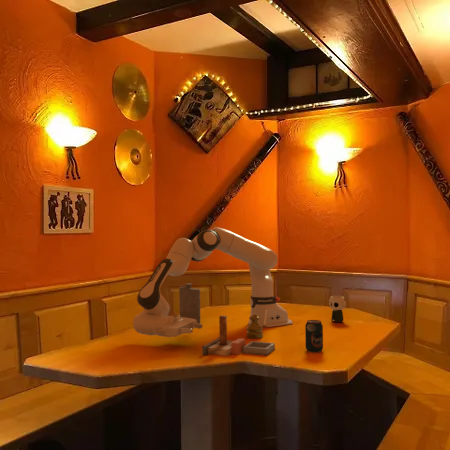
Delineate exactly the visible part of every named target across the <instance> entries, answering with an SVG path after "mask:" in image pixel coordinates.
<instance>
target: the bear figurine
mask: <svg viewBox="0 0 450 450" xmlns="http://www.w3.org/2000/svg"><path fill="white" fill-rule="evenodd" d="M328 305H329V307H330V309H331V310H332V311H331V322H334V323H341V322H344V314H343V313H344V312H343V310H344V309H345V308H346V307H347V301H345V296H342V295H331V296H330V297H329V299H328Z"/></svg>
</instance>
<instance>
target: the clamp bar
mask: <svg viewBox="0 0 450 450" xmlns="http://www.w3.org/2000/svg"><path fill="white" fill-rule="evenodd" d="M218 342H220V336H219V337H217V338H214V339H212V340H210V341H209V342H207V343H205V344H203V345H202V346H201V347H202V349H201V350H202V356H207V355H209V354H208V348H209V347H211V346H212V345H214V344H216V343H218Z"/></svg>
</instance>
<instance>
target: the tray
mask: <svg viewBox="0 0 450 450" xmlns="http://www.w3.org/2000/svg"><path fill="white" fill-rule="evenodd" d="M275 344H276V343H274V342H266V341H265V342H264V341H253V340H252V341H250V342H248V343H247V344H245V346H244V347H243V352H242V353H243V354H249V355H250V354H251V355H257V356H258V355H259V356H269V355H270V354H271V353H272V352H273V351H274V350H275V349H276V345H275Z"/></svg>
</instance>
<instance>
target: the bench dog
mask: <svg viewBox="0 0 450 450" xmlns="http://www.w3.org/2000/svg"><path fill="white" fill-rule="evenodd" d="M232 341H233V342H232V343H231V354H230V355H240V354H242V353H243V347H244V346H245V345H246V338H240V337H239V338H237V339H235V340H232Z"/></svg>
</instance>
